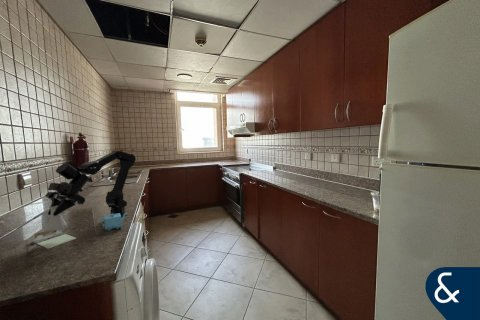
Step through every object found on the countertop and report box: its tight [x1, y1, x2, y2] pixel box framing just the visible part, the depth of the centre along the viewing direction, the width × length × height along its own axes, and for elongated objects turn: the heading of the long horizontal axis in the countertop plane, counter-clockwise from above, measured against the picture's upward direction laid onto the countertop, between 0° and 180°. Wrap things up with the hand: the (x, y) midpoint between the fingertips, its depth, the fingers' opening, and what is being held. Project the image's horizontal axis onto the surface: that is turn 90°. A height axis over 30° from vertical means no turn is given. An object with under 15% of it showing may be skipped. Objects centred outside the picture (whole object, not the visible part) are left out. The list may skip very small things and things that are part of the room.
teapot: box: [100, 212, 128, 232], centre depth 104 cm, size 12×6×8 cm, turn 125°
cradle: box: [31, 229, 65, 244], centre depth 94 cm, size 10×4×3 cm, turn 153°
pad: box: [36, 233, 77, 250], centre depth 91 cm, size 10×10×1 cm
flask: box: [45, 206, 68, 231], centre depth 90 cm, size 7×7×10 cm
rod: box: [33, 230, 56, 237], centre depth 94 cm, size 9×2×2 cm, turn 153°
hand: (51, 215), depth 89 cm, fingers closed on flask, 3 cm apart
